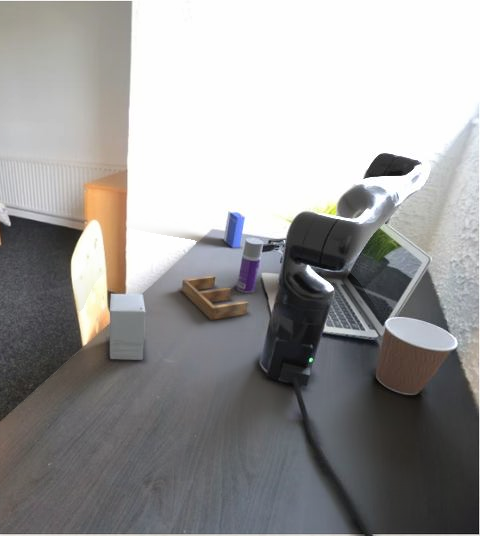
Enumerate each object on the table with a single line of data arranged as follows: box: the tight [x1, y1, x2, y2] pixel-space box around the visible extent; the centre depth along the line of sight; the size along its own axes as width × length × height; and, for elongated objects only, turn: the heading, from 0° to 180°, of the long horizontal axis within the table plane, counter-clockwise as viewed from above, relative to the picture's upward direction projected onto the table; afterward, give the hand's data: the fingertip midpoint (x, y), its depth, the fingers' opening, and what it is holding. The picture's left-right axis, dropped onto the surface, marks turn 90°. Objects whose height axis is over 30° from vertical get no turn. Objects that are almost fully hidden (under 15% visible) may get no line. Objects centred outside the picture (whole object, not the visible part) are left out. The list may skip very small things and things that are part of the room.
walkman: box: [223, 210, 246, 249], centre depth 137 cm, size 8×3×12 cm, turn 3°
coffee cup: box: [375, 316, 459, 396], centre depth 71 cm, size 10×10×12 cm
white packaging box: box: [109, 293, 146, 361], centre depth 82 cm, size 7×7×13 cm
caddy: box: [181, 275, 249, 321], centre depth 102 cm, size 10×16×4 cm, turn 13°
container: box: [236, 237, 264, 294], centre depth 105 cm, size 5×5×15 cm
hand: (270, 254), depth 106 cm, fingers open, 8 cm apart
